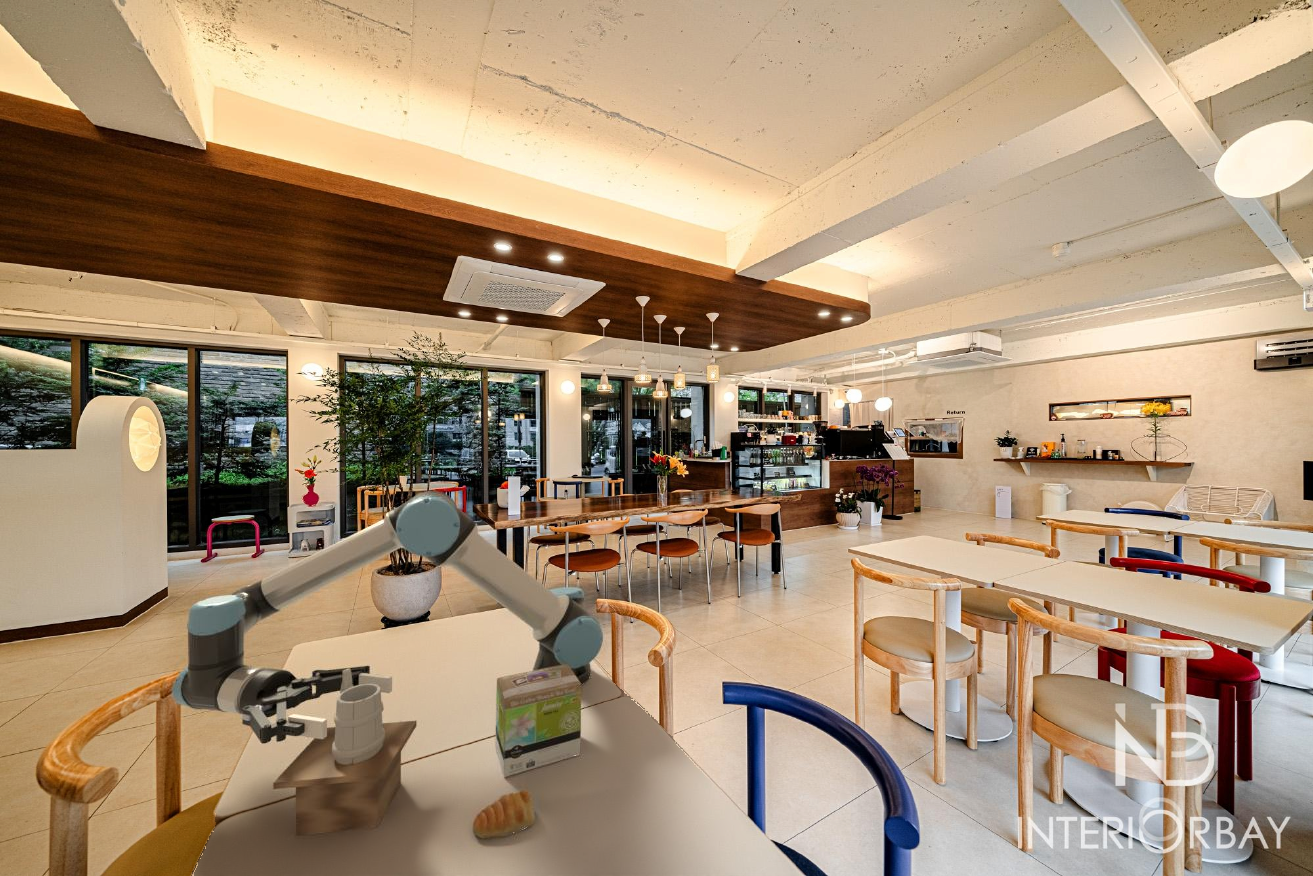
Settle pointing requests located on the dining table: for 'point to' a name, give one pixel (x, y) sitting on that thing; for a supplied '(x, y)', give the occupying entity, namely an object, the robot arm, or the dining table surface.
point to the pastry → (505, 816)
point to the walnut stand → (345, 783)
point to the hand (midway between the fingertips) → (360, 705)
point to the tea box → (537, 718)
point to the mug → (357, 722)
